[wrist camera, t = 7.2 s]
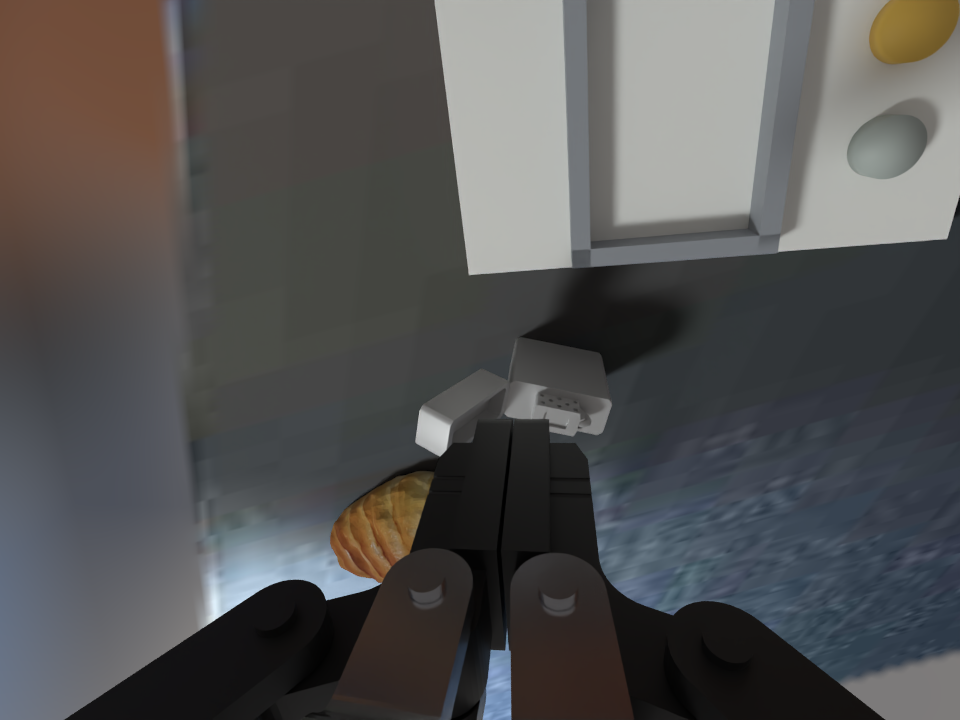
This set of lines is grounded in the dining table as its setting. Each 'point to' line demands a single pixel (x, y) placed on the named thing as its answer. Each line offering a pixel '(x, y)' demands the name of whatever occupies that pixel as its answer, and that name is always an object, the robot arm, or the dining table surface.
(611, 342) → the dining table surface
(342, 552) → the pastry
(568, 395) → the lighter
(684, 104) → the board
